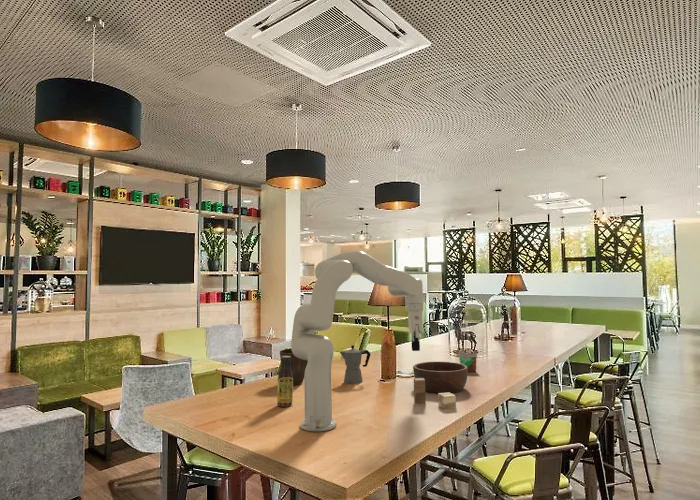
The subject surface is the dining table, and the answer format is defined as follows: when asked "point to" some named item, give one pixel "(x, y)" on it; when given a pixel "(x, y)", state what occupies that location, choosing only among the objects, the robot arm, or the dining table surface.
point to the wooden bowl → (442, 376)
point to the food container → (468, 360)
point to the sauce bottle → (285, 383)
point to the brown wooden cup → (295, 366)
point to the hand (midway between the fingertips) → (415, 350)
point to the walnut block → (419, 391)
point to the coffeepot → (354, 364)
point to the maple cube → (447, 400)
